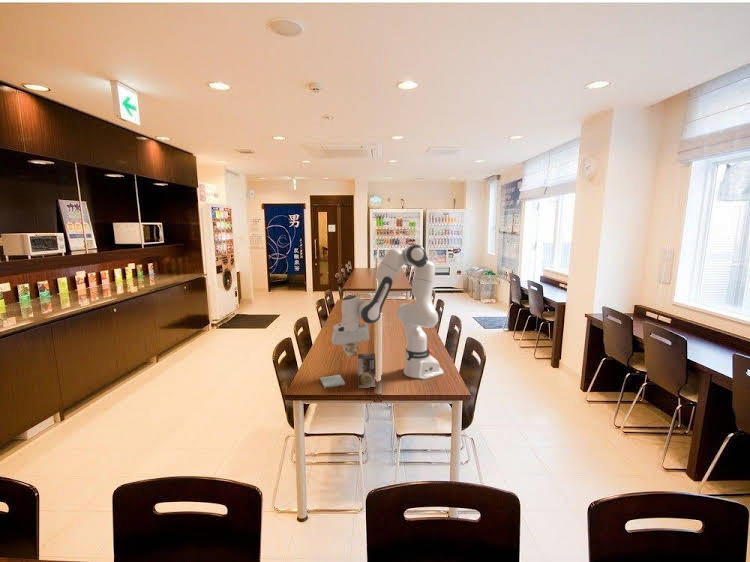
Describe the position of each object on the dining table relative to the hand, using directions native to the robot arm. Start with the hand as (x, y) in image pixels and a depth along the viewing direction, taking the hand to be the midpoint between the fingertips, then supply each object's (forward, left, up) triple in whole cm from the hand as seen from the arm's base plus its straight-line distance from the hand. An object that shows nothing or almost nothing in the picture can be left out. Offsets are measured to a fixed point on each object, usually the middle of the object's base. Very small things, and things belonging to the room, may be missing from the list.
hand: (351, 350), depth 191 cm
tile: (+11, +3, -15) cm, 19 cm away
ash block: (0, 0, -3) cm, 3 cm away
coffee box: (-5, +13, -16) cm, 21 cm away
